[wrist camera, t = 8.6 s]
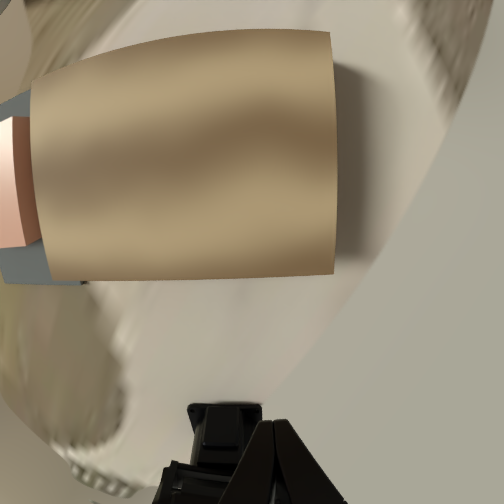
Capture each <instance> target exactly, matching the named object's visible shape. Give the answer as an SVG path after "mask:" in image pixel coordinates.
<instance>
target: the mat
mask: <svg viewBox="0 0 504 504" xmlns="http://www.w3.org/2000/svg"><path fill="white" fill-rule="evenodd" d="M30 98H31V89H30V90H28V91H26V92H24V93H21V94H19V95H17V96H15V97H13V98H12V99H10V100H8V101H6V102H4V103H2V104H0V122H2V121H4V120H6V119H8V118H10V117H12V116H18V117H30ZM30 147H31V143H30ZM31 163H32V161H31ZM32 175H33V173H32ZM33 184H34V182H33ZM34 193H35V191H34ZM35 200H36V199H35ZM36 207H37V205H36ZM37 213H38V212H37ZM38 219H39V218H38ZM39 225H40V224H39ZM40 230H41V229H40ZM41 235H42V234H41ZM0 268H1V272H2V275H3V279H4V282H5V283H12V284H42V285H82V284H83V283H84V282H83V281H53V280H52V276H51V273H50V269H49V265H48V261H47V257H46V253H45V248H44V244H43V239H42V238H40V239H38V240H36V241H34V242H33V243H31V244H29V245H27V246H21V247H9V248H0Z"/></svg>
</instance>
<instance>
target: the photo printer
mask: <svg viewBox="0 0 504 504" xmlns="http://www.w3.org/2000/svg"><path fill="white" fill-rule="evenodd" d="M10 1H11V0H0V14H1V13H2V12H3V11H4V10H5V9H6V7H7V6H8V4H9V3H10Z"/></svg>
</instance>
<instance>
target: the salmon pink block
mask: <svg viewBox="0 0 504 504" xmlns="http://www.w3.org/2000/svg"><path fill="white" fill-rule="evenodd" d="M40 238H42V235H41V230H40V225H39V219H38V213H37V207H36V200H35V193H34V184H33V175H32V163H31V147H30V117H18V116H12V117H10V118H8V119H6V120H4V121H2V122H0V248H9V247H21V246H27V245H29V244H31V243H33V242H34V241H36V240H38V239H40Z"/></svg>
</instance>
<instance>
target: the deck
mask: <svg viewBox="0 0 504 504" xmlns="http://www.w3.org/2000/svg"><path fill="white" fill-rule="evenodd" d="M30 143H31V161H32V173H33V182H34V191H35V199H36V205H37V212H38V218H39V224H40V229H41V234H42V239H43V244H44V248H45V253H46V257H47V261H48V265H49V269H50V273H51V276H52V280H53V281H147V280H201V279H236V278H264V277H288V276H310V275H329V274H334V261H335V244H336V221H337V121H336V100H335V84H334V70H333V59H332V48H331V39H330V32H323V31H311V30H294V29H243V30H226V31H214V32H205V33H196V34H189V35H182V36H176V37H170V38H164V39H159V40H154V41H149V42H144V43H140V44H136V45H132V46H128V47H124V48H120V49H116V50H113V51H109V52H106V53H103V54H99V55H96V56H93V57H90V58H87V59H84V60H81V61H78V62H76V63H73V64H70V65H68V66H65V67H63V68H60V69H58V70H55V71H53V72H50V73H48V74H46V75H43V76H41V77H39V78H37V79H35V80H32V81H31V98H30Z"/></svg>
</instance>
